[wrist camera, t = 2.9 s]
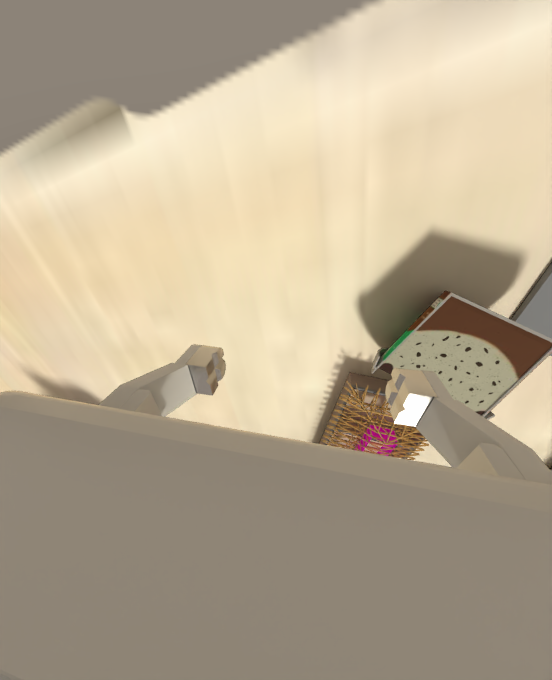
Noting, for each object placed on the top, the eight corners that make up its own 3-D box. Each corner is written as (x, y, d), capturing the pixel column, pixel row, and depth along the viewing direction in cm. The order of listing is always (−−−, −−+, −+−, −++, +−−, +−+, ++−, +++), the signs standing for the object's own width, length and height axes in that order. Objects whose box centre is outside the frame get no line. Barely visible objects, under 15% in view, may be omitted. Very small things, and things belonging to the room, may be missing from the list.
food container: (412, 277, 23) (361, 348, 28) (434, 284, 18) (366, 371, 22) (521, 328, 22) (450, 393, 27) (580, 351, 17) (478, 428, 21)
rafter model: (345, 364, 30) (348, 397, 25) (452, 387, 28) (479, 427, 23) (300, 474, 49) (298, 504, 44) (362, 491, 48) (366, 524, 43)
